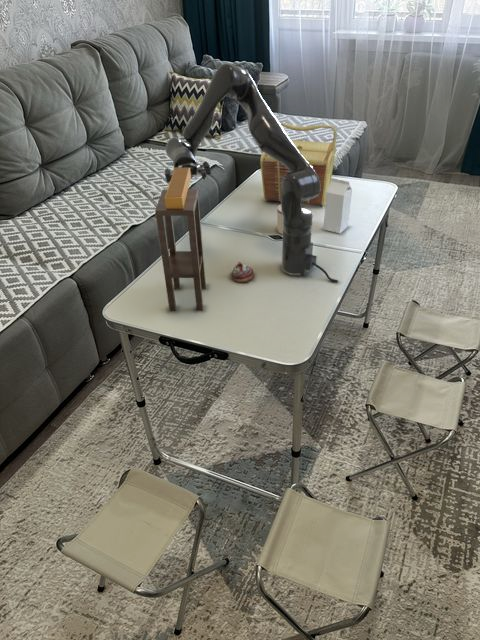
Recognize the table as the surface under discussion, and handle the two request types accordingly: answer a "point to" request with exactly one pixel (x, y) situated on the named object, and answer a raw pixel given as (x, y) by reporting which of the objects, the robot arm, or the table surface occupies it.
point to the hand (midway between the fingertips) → (189, 178)
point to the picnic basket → (313, 153)
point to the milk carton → (337, 205)
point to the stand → (181, 261)
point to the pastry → (242, 273)
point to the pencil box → (178, 188)
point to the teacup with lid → (280, 220)
